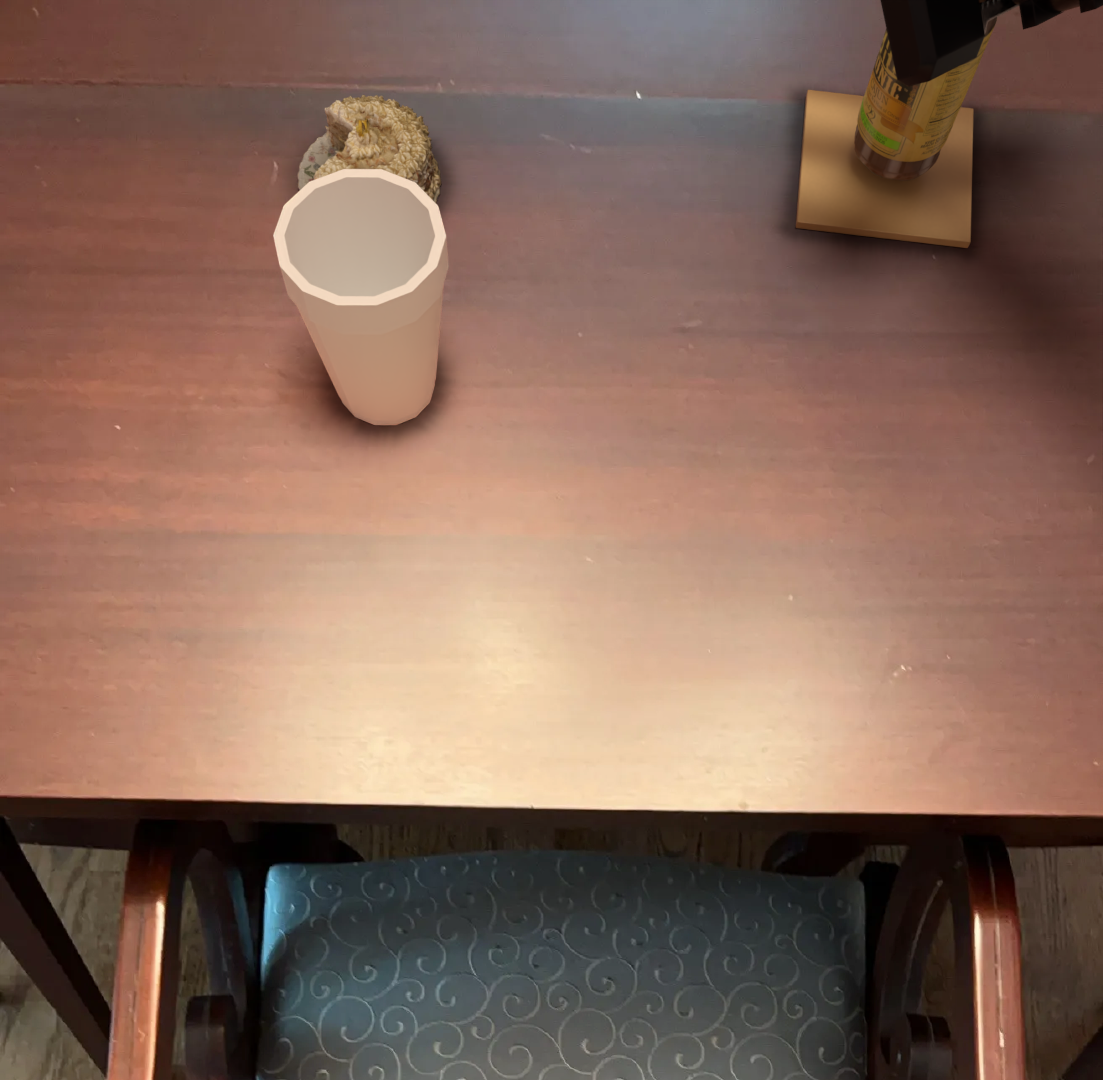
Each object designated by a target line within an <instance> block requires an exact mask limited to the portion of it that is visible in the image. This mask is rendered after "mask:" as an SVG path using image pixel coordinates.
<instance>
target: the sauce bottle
mask: <svg viewBox="0 0 1103 1080" xmlns="http://www.w3.org/2000/svg"><path fill="white" fill-rule="evenodd" d="M981 2H984V0H979V3H981ZM997 21H998V17H996V18H994V19H992V20H990V21H989V22H988V23H987V29H986V32H985V37H984V40H983V42H982V45H981V47H980V50H979V52H978V55H977V57H976V58H974V59H972V60H970V61H968V62H966V63H964V64H962V65H960V66H958V67H956V68H954V69H952V70H950V71H948V72H946V73H945V74H943V75H941V76H939V77H937V78H935V79H933V80H931V81H928V82H925V83H921V84H917V85H913V86H909V87H907V86H905V85H904V84H902V83H901V82H899V81H898V80H897V77H896V72H895V67H894V63H893V58H892V53H891V48H890V43H889V39H888V34H887V29H886V28H885V31H884V34H883V38H882V41H881V43H880V47H879V50H878V53H877V56H876V59H875V62H874V66H873V69H872V71H871V74H870V77H869V81H868V83H867V86H866V89H865V92H864V95H863V96H864V98H863V101H862V104H861V107H860V110H859V114H858V119H857V127H856V131H855V138H854V140H855V141H854V144H855V152H856V155H857V157H858V158H859V159H860V160H861V162H862V163H863V164H864V165H865V166H866V167H867V168H868V169H869V170H870V171H871V172H872V173H873V174H875V175H877V176H880V177H882V178H883V177H884V178H887V179H892V180H899V181H908V180H913V179H915V178H917V177H919V176H921V175H922V174H924V173H925V172H927V171H928V170H929V169H930V168H931V167H932V166H933V165H934V164H935V163H936V161H937V159H938V157H939V155H940V151H941V148H942V147H943V146H944V144H945V142H946V141H947V138H948V136H949V134H950V131H951V129H952V126H953V124H954V122H955V119H956V117H957V114H958V112H959V110H960V107H962V105H963V102H964V100H965V99H966V95H967V93H968V91H969V88H970V86H971V84H972V81H973V80H974V77H975V75H976V72H977V70H978V67H979V65H980V62H981V60H982V57H983V55H984V53H985V51H986V48H987V46H988V43H989V41H990V39H991V36H992V34H993V32H994V30H995V26H996V24H997Z"/></svg>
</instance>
